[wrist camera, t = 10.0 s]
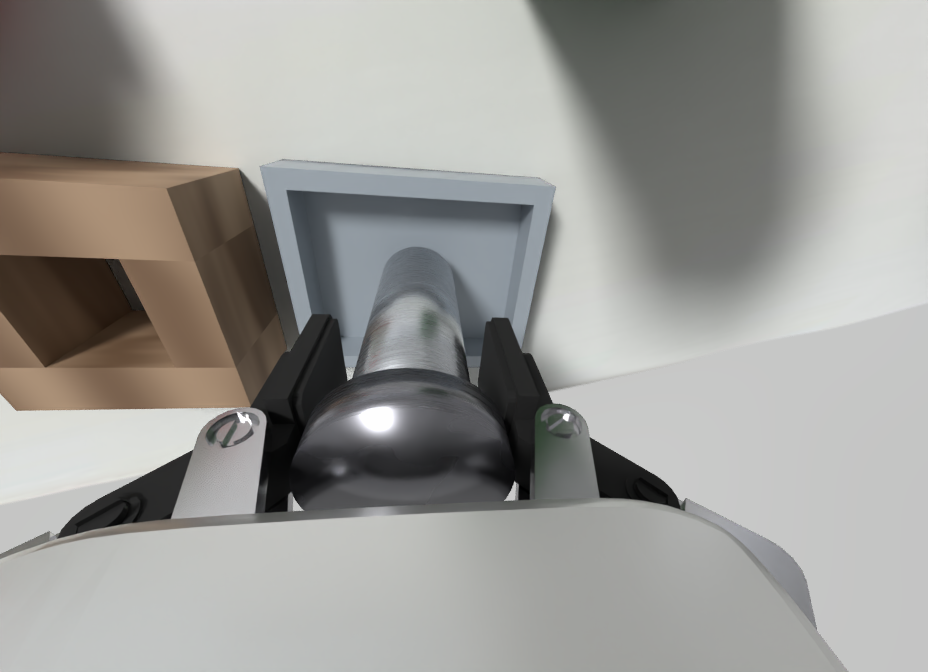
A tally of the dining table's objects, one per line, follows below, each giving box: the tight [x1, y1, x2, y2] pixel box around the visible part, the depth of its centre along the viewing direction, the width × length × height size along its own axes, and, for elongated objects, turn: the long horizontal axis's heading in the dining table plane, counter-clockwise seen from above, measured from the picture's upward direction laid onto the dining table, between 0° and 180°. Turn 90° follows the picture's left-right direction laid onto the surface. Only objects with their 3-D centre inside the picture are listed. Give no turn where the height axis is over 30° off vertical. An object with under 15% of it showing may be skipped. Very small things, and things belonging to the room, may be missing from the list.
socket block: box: [0, 152, 287, 411], centre depth 15 cm, size 10×10×5 cm
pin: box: [289, 247, 515, 511], centre depth 12 cm, size 5×5×11 cm
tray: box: [260, 159, 556, 367], centre depth 17 cm, size 12×10×2 cm
